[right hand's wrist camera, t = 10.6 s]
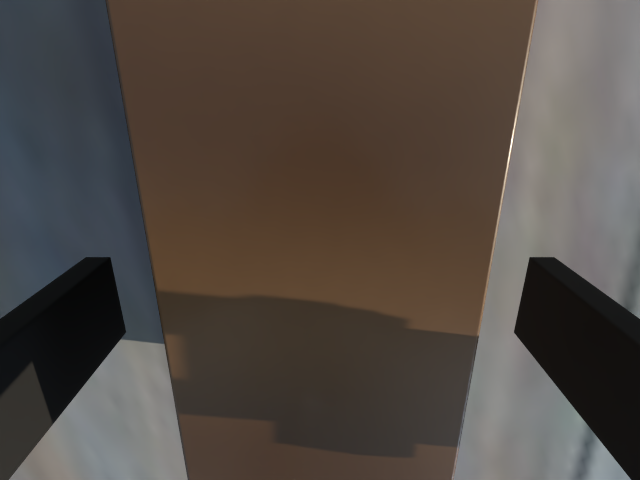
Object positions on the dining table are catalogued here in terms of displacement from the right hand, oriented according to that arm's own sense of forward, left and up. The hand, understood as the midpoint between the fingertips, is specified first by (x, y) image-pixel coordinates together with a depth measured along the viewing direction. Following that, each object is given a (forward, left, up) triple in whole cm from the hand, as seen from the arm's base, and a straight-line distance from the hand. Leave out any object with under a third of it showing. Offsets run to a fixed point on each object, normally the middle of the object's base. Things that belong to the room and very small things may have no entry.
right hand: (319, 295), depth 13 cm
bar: (+17, +30, -3) cm, 34 cm away
